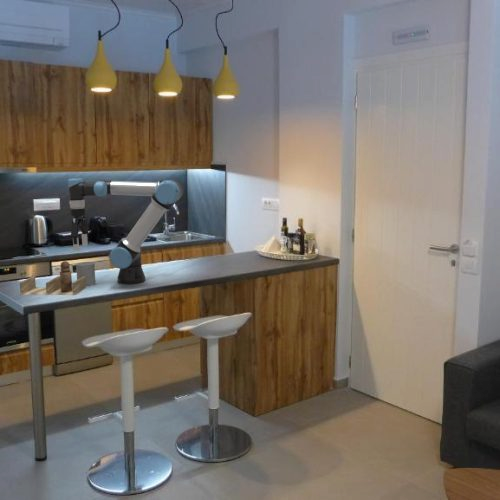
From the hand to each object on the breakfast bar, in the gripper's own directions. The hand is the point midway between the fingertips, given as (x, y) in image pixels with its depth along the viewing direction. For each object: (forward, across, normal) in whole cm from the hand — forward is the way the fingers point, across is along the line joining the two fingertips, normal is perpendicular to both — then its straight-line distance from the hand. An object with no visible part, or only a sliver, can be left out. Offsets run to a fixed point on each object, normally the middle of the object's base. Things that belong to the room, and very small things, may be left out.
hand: (81, 248), depth 327 cm
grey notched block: (+21, 0, +1) cm, 21 cm away
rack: (+20, +15, -11) cm, 27 cm away
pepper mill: (+20, +15, -4) cm, 25 cm away
